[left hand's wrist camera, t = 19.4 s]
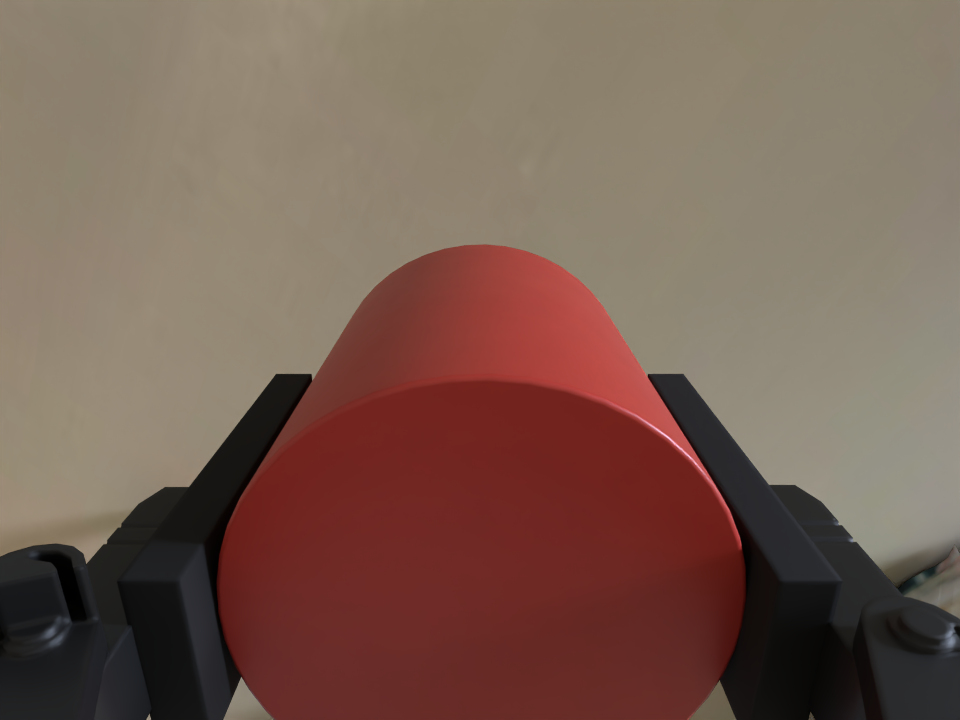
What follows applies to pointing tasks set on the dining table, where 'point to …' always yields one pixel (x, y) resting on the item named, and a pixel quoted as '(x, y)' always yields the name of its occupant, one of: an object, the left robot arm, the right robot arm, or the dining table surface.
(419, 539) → the canister
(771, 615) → the left robot arm
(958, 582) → the cake
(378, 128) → the dining table surface
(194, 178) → the dining table surface
